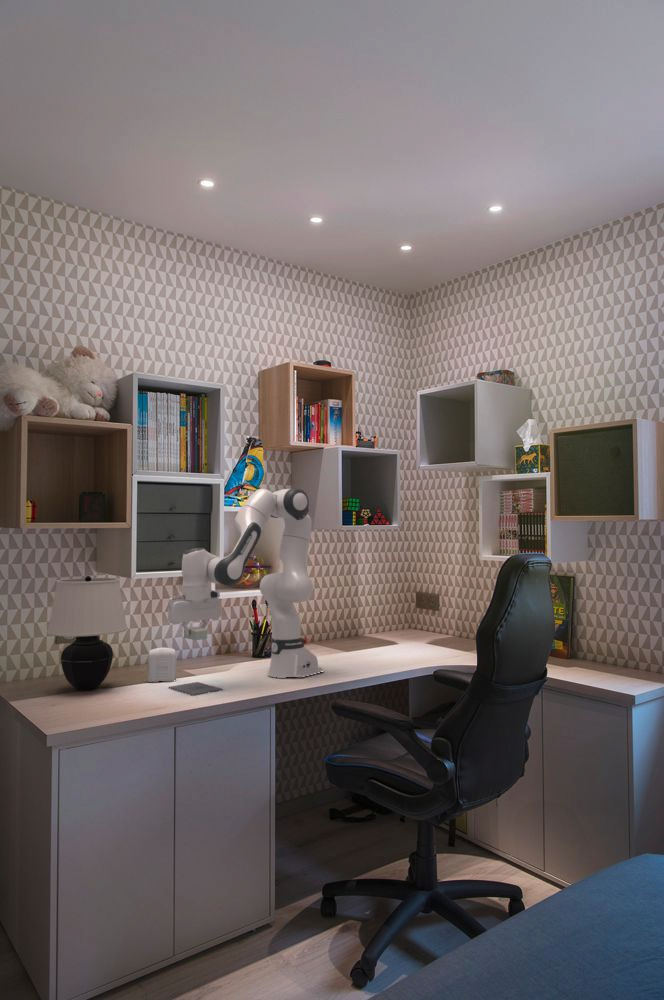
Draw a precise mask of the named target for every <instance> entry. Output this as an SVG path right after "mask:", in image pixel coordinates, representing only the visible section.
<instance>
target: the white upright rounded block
mask: <svg viewBox="0 0 664 1000" xmlns="http://www.w3.org/2000/svg"><path fill="white" fill-rule="evenodd" d="M148 652H149V653H148V654H147V655H148V656H147V682H148V683H160V682H159V681H167V682H175V681H174V680H177V653H176V650H175V648H171V647H157V648H153V649H150V650H149V651H148Z"/></svg>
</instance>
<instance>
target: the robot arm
mask: <svg viewBox="0 0 664 1000" xmlns="http://www.w3.org/2000/svg"><path fill="white" fill-rule="evenodd" d="M309 506H310V502H309V497H308V494H307V493H306V492H305V491H304V490H302V489H300V488H295V487H294V488H282V489H280V490H273V491H271V490H269V489H266V488H258V489H256V490H255V491H254V492H253V493H252V494H251V495H250V496H249V497H248V498H247V500H245V502H244V503H243V504H242V506H241V507H240V509H239V510H238V512H237V514H236V515H235V518H234V524H235V528H236V529H237V531H238V532H239V533H240V537H239V539H238V541H237V543H236V544H235V546H234V548H233V550H232V552H231V553H230V554H228V555H227V556H218V555H214V554H212V553H210V552H209V551H207V550H206V548H203V547H196V548H191V549H188V550H186V551H184V552H183V554H182V560H181V576H182V584H181V595H178V596H177V595H176V596H175V595H174V596H172V597H171V598H169V599H168V610H167V622H168V623H169V624H181V626H182V628H183V630H184V629H185V635H191V629H189V628H188V627H189V623H190V622H199V621H201V623H202V625H201V627H200V628H206V629H207V626H208V624H209V620H213V619H220V618H221V617H222V611H223V610H222V601H221V599H219V598H220V597H221V596H220V595H221V594H220V593H221V592H220V591H217V590H212V589H210V588H208V583H213V584H219V585H224V586H227V587H232V586H235V585H237V584H238V583H240V581H242V578H243V576H244V573H245V568H246V565H247V562H248V561H249V559H250V557H251V555H252V553H253V551H254V549H255V547H256V546H257V544H258V542H259V540H260V538H261V535H262V534H261V533H262V531H263V529H264V526H265V525H267V522H268V521H269V520H270V518H276V519H278V518H281V519H283V522H284V528H283V532H282V535H281V541H280V546H279V550H278V558H279V559H280V561H281V562H282V568H283V572H273V573H269V574H266V575H264V576H263V577H262V578H261V580H260V583H259V591H260V593H261V595H262V596H263V598H264V599H265V600H266V603H267V606H268V609H269V611H270V612H269V613H270V617H271V638H270V649H271V650H270V651H271V656H270V663H269V664H270V665H269V670H268V673H267V676H268V677H272V678H276V677H277V679H287V678H286V677H303V676H307V675H311V674H314V673H318V672H321V671H323V670H324V671H325V669H324V668H322V667H319V661H318V658H317V656H316V655H315V654H314V653H312V652H311V651H310V650H309V649H308V648H306V647H305V644H309V642H310V639H309V638H307V637H303V638H302V636H301V633H302V632H301V626H302V625H301V617H300V615H299V613H298V612H297V611H296V609H295V607H294V604H293V603H295V604H297V603H304V602H307V601H308V600H310V598H311V597H312V595H313V593H314V584H313V581H312V579H311V578H310V577H309V574H308V569H307V567H308V566H307V559H308V552H309V547H310V544H311V543H310V542H311V536H312V518H311V516H310V515H309V514H308V513H309Z"/></svg>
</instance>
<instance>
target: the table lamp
mask: <svg viewBox="0 0 664 1000" xmlns="http://www.w3.org/2000/svg"><path fill="white" fill-rule="evenodd" d="M50 613H51V614H50V618H49V622H48V623H49V624H48V629H47V630H46V633H47V635H49V636H55V637H68V638H69V637H76V638H75V640H74V641H72V642H71V643H70V644H68V646H65V647H64V649H63V650H62V652H61V656H60V662H61V669H62V672H63V675H64V677H65V680H66V681H67V682H68V683H69V684H70V685H71V686H72V687H73V688H75V689H76V690H78V691H85V692H86V691H92V690H93V691H94V690H95V689H97V688H98V687H99V686H100V685H101V684H102V683H103V682H104V681H105V679H106V678H107V676H109V675H108V674H109V672H110V670H111V666H112V663H113V659H114V658H113V657H114V651H113V649H112V648H113V647H112V646H111V645H110V644H109V643H107V642H105V641H104V640H102V639H100V636H105V635H114V634H119V633H122V632H126V631H127V630H128V629H129V628H128V626H127V620H126V615H125V614H126V613H125V609H124V604H123V599H122V592H121V587H120V578H114V577H92V576H91V575H87V576H85V577H83V578H82V577H81V578H77V577H76V578H64V579H58V580H56V587H55V592H54V597H53V602H52V607H51V612H50Z"/></svg>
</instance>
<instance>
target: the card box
mask: <svg viewBox="0 0 664 1000" xmlns="http://www.w3.org/2000/svg"><path fill="white" fill-rule="evenodd" d="M188 628H189V629H191V635H185V629H184V628H183V638H184V639H189V640H193V641H200V640H207V639H208V628H207V627H206V628H200V627H199V626H188Z"/></svg>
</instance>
